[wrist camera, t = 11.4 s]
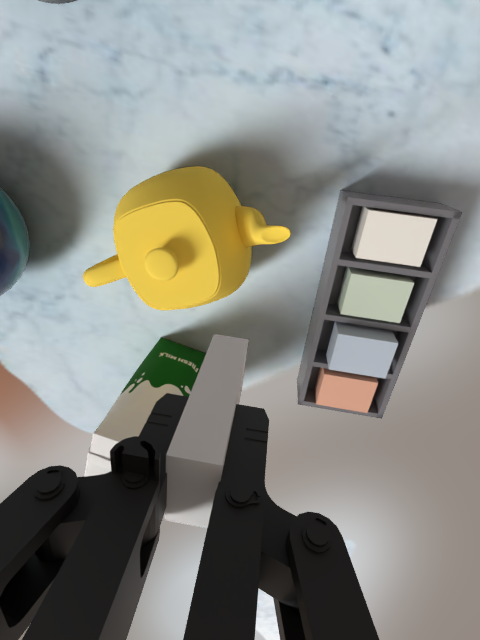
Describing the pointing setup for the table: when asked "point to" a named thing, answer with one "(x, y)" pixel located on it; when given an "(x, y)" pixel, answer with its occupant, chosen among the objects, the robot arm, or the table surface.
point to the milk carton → (143, 398)
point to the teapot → (183, 240)
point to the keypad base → (343, 256)
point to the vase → (12, 243)
